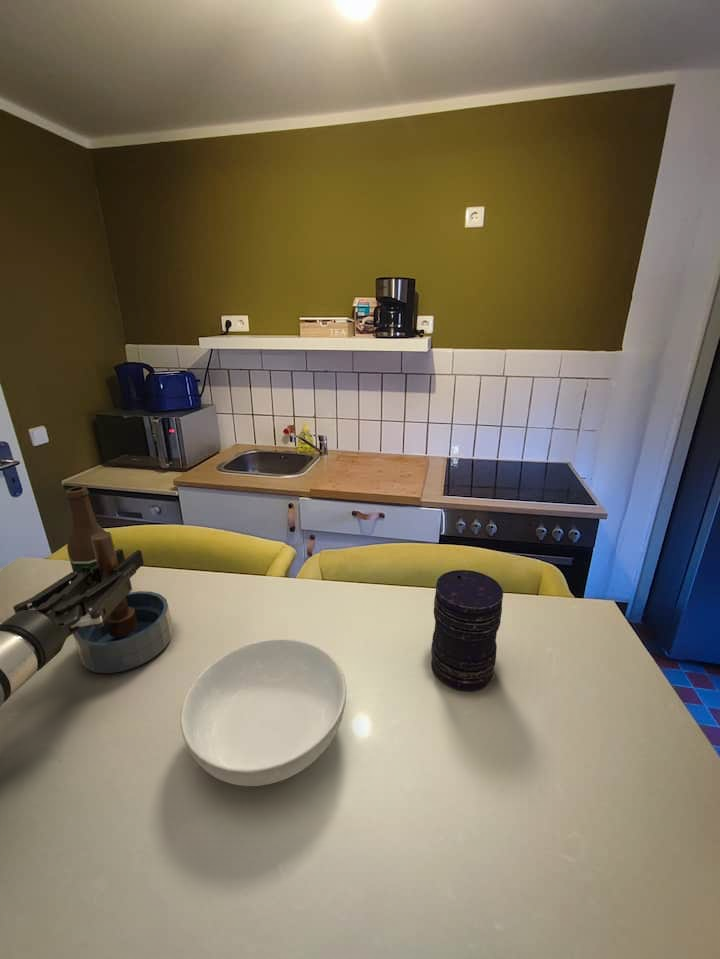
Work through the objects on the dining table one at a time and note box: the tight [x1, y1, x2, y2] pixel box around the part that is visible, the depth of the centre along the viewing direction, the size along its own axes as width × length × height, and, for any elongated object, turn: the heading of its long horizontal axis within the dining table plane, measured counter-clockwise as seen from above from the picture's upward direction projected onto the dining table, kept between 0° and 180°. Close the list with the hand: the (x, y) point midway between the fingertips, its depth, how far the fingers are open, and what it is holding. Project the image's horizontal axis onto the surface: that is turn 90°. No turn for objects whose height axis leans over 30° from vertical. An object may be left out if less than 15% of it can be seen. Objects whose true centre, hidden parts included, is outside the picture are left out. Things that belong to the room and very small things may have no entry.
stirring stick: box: [91, 531, 138, 637], centre depth 71 cm, size 4×4×18 cm
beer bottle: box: [64, 485, 117, 591], centre depth 82 cm, size 8×8×24 cm
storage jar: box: [430, 569, 504, 693], centre depth 65 cm, size 10×10×15 cm
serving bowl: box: [180, 638, 347, 787], centre depth 57 cm, size 21×21×7 cm
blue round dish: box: [72, 590, 174, 674], centre depth 73 cm, size 14×14×6 cm
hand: (131, 556), depth 75 cm, fingers closed on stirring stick, 3 cm apart
